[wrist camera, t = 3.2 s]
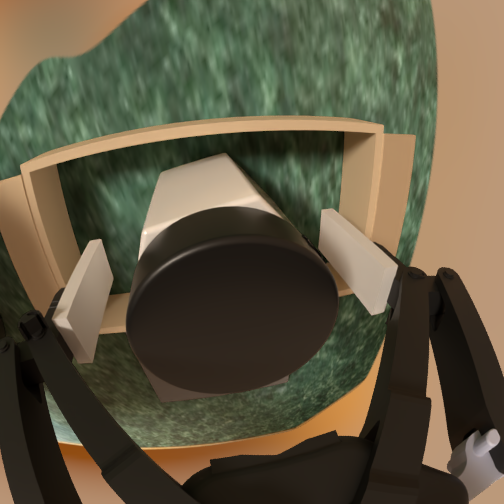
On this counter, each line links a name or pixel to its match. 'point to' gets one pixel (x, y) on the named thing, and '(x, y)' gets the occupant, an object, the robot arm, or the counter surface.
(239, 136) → the counter surface
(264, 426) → the counter surface
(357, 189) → the carton
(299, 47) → the counter surface
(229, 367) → the jar
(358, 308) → the counter surface
